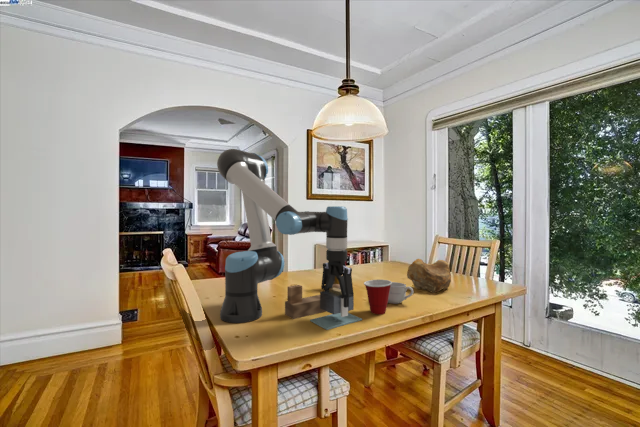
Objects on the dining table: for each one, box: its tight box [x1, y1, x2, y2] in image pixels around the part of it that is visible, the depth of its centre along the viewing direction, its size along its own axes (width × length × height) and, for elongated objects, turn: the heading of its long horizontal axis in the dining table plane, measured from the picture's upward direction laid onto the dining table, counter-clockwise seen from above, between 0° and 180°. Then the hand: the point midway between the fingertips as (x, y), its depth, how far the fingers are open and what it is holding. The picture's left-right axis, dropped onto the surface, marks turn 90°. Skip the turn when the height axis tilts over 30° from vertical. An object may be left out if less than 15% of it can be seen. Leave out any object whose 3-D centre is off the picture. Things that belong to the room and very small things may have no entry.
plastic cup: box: [363, 279, 393, 315], centre depth 120 cm, size 11×11×12 cm
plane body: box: [284, 284, 340, 320], centre depth 122 cm, size 26×6×11 cm, turn 126°
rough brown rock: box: [406, 258, 452, 294], centre depth 155 cm, size 23×17×15 cm
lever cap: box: [319, 288, 355, 315], centre depth 111 cm, size 9×8×7 cm
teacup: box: [387, 281, 414, 304], centre depth 133 cm, size 14×11×8 cm
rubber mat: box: [309, 312, 363, 331], centre depth 111 cm, size 16×10×1 cm, turn 126°
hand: (336, 312), depth 111 cm, fingers closed on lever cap, 8 cm apart
